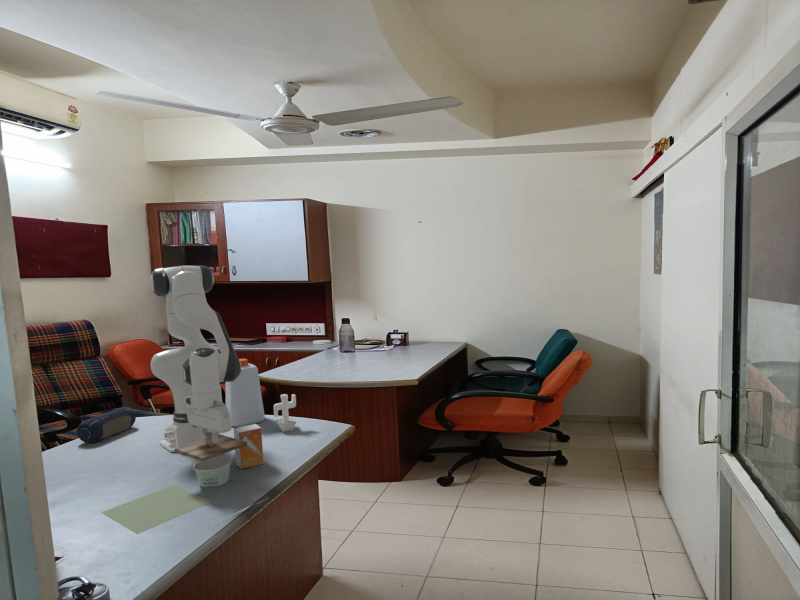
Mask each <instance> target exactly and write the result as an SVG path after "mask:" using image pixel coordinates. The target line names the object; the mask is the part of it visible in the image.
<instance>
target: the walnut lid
mask: <svg viewBox="0 0 800 600" xmlns="http://www.w3.org/2000/svg"><path fill="white" fill-rule="evenodd" d="M212 435H213V433H212V432H208V433H206V434H205V437H206V441H205V440H200V441H197V442H194V443H191V444H188V445H185V446H182V447H179V448H175V452H174V453H178V454H181V455H184V456H186V457H190V458H192V459H195V460H198V461H205V460H207V459H210V458H213V457H216V456H221V455H224V454H227V453H229V452H232V451H235V449H238V448H241V447H243V446H246V445H247V442H245V441H241V440H238V439H234V437H230V436H226V435H224V434H221V433H219V436H218V442H217V443H212V442H211V437H212Z"/></svg>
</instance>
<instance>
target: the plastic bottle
mask: <svg viewBox="0 0 800 600" xmlns="http://www.w3.org/2000/svg"><path fill="white" fill-rule="evenodd" d="M239 360H240V363H241V373H240V375H239V376H238V377H237V378H236V379H235V380H234V381H233V382H225V406H226V407H227V408H228V410H229V412H230V417H231V423H232V427H233V428H239V427H243V426H247V425H253V424H259V423H261V422H263V421H264V420H265V409H264V403H263V397H262V388H261V384H260V377H259V370H258V369H259V368H258V367H257V366H256V365H255V364H252V363H249V359H247V358H239Z"/></svg>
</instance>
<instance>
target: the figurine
mask: <svg viewBox="0 0 800 600" xmlns="http://www.w3.org/2000/svg"><path fill="white" fill-rule="evenodd" d="M288 399H289V396H288V394H286V393H284V394H280V400H281V402H278V403H275V404H273V416H274V417H275V418H277V417H278V416H279V411H282V412H281V413H282V414H281V415H282V418H281V419H276V420H275V422H276V424H277V425H278V427H279V429H280V430H281V432H283V433H284V432H290V431H293V430H294V428H295V427H296V424H297V420H296V419H295V418H294V417H289V416H290V415H289V414H290V413H289V409H293V408H296V407H297V395H296V394H294V393H293V394H291V401H289V400H288ZM289 430H290V431H289Z"/></svg>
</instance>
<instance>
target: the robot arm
mask: <svg viewBox="0 0 800 600" xmlns="http://www.w3.org/2000/svg"><path fill="white" fill-rule="evenodd" d="M214 280H215V277H214V275H213V272H212V269H211V268H210V267H209V266H206V265H179V266H178V265H177V266H170V267H159V268H155V269H154V270H153V271H152V272H151V274H150V277H149V286H150V289H151V291H152V293H153V294H154V295H155V296H158V297H164V298H165V297H166V301H165V302H166V303H165V304H166V305H165V306H166V308H165V309H166V321H167V322H166V323H167V332H168V334H169V335H170V336H171V337H173V338H175V339H178V340H180V341H181V340H182V341H183V343H184V347H178V348H174V349H173V348H172V349H166V350H163V351H160V352H158V353H155V354H154V355H153V356H152V357H151V361H150V371H151V372H152V374H153V375H154V377H155V378H157V379H159V380H161V381H163V382H164V383H165V385H167V386H168V387H169V389H170V391H171V394H172V398H173V404H174V411H173V412H172V413H173V414H172V415H173V418H172V422H171V423H170V424H169V425H168V426H167V427H166V428H165V432H164V434H163V436H164V438H163V439H162V440H160V441H159V445H160V446H162V448H164V449H165V450H167V451H168V452H170V453H176V452H175V448H179V447H182V446H185V445H188V444H191V443H194V442H197V441H200V440H205V441H206V437H205V434H206V433H208V432H212V433H213V435H212V437H211V442H212V443H217V442H218V436H219V434H224V433H227V432H230V431H231V430H232V427H233V426H232V423H231V417H230V412H229V410H228V408H227V407H226V403H224V402H223V396H222V387H221V384H220V383H226V382H233V381H234V380H235V379H236V378H237V377H238V376H239V375H240V373H241V363H240V360H239V359H240V358H239V356H238V353H237V352H236V351H235V349H234V346H233V344H232V341H231V337H230V336H229V333H228V331H227V328H226V326H225V323H224V322H223V319H222V317H221V315H220V314H219V312H218V311H216V310H213V308H212V307H210V305H209V303H208V302H207V301H208V300H207V297H206V293H209V292H210V291H211V290H212V289H213V286H214V282H215V281H214ZM201 330H206V331H208V332H209V333H211V334H212V335H213V336H214V339H215V342H216V344H217V346H218V349H219V350H218V349H217V348H216V347H215V346H214V345H212V344H211V343H209V342H208V341H207V340H206V339H205V337H204V336H203V334H202V332H201ZM219 352H220V353H219Z"/></svg>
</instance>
